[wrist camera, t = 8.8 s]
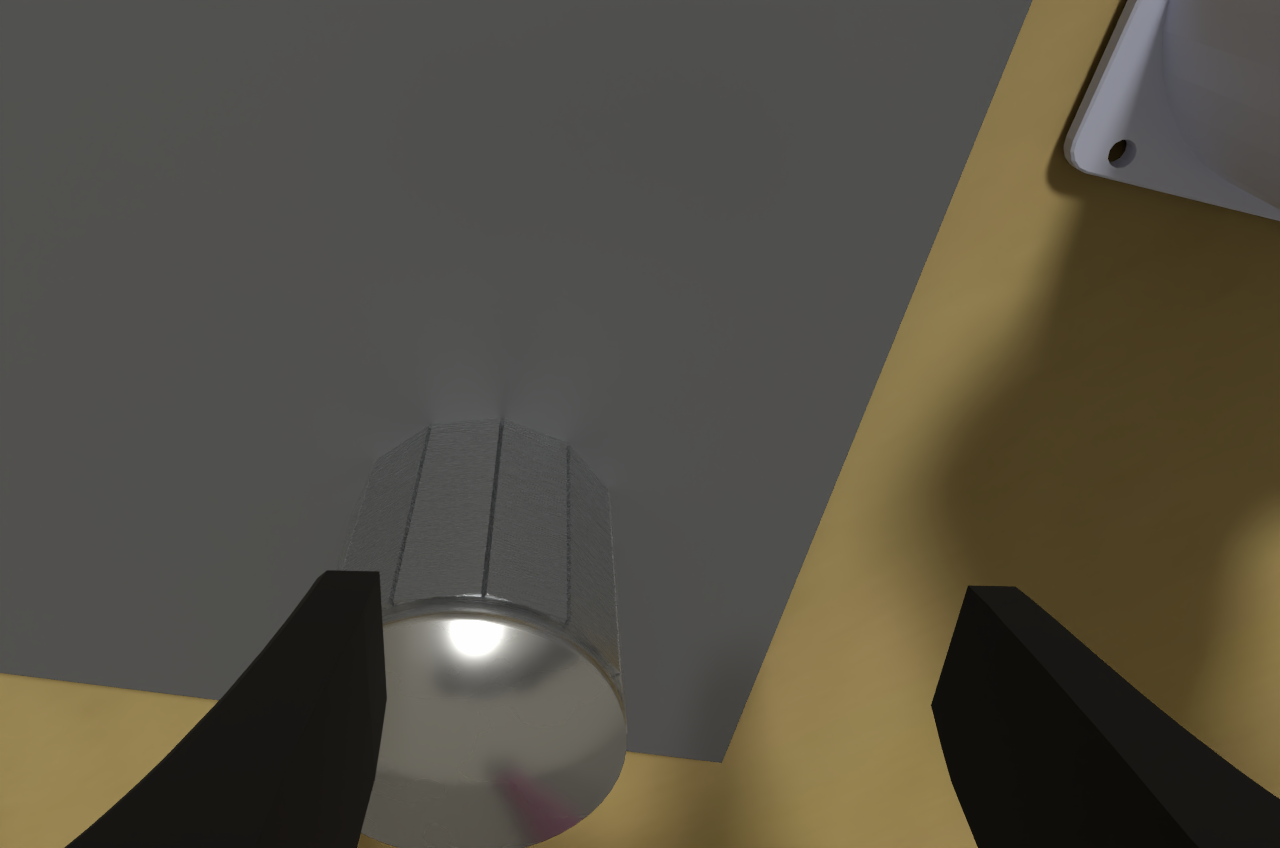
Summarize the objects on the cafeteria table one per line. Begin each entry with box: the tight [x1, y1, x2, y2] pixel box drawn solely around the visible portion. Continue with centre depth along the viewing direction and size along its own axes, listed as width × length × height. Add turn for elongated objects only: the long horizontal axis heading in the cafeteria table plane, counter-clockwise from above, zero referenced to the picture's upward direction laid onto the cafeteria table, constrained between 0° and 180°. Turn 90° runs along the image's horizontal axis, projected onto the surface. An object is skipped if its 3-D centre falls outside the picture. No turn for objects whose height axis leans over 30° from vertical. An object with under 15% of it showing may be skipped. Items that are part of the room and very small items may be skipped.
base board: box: [0, 0, 1032, 763], centre depth 20 cm, size 20×20×1 cm
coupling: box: [335, 418, 627, 848], centre depth 19 cm, size 5×5×6 cm
